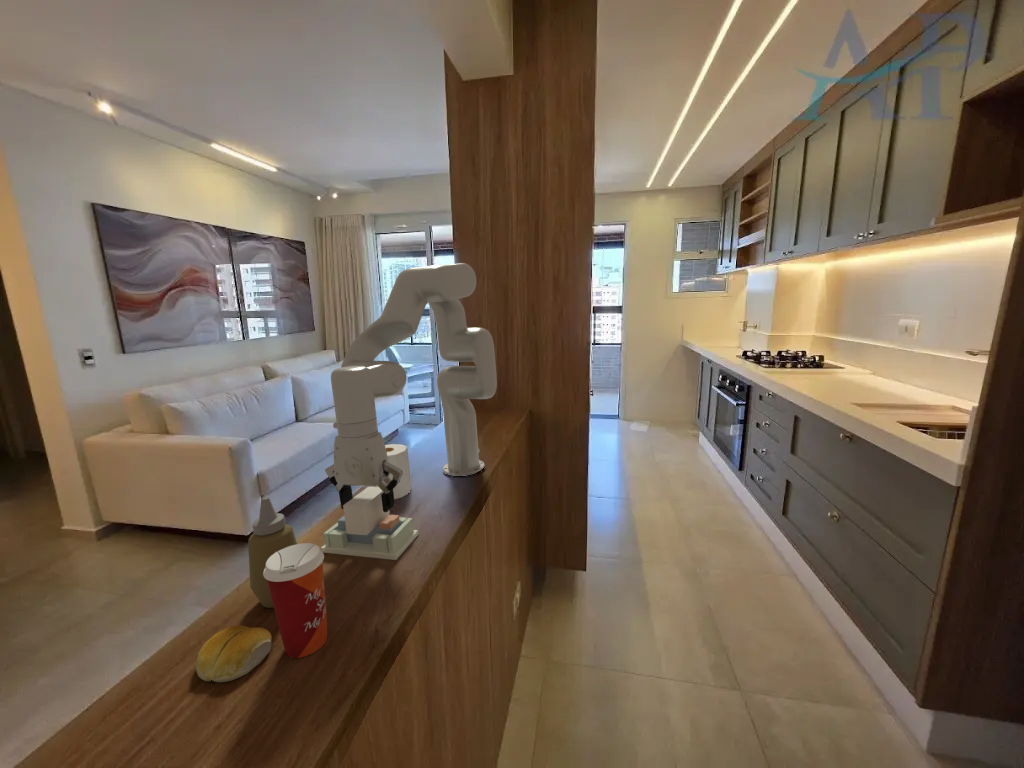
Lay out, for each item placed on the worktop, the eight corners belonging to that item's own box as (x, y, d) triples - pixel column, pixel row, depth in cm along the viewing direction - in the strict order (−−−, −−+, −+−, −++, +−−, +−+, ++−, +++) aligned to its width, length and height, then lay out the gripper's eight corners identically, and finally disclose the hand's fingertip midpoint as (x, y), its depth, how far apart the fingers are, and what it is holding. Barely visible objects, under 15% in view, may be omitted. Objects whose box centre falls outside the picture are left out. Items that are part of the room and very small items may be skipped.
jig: (349, 528, 94) (347, 512, 93) (418, 534, 90) (416, 517, 89) (321, 552, 85) (318, 534, 84) (396, 560, 80) (394, 541, 80)
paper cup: (331, 656, 58) (318, 564, 56) (270, 671, 56) (254, 577, 54) (338, 618, 66) (326, 536, 63) (284, 630, 63) (270, 546, 61)
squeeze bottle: (284, 616, 67) (267, 511, 64) (242, 611, 68) (223, 509, 65) (317, 583, 74) (303, 489, 71) (278, 580, 76) (263, 487, 73)
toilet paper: (387, 483, 119) (382, 442, 117) (418, 486, 115) (414, 444, 113) (363, 498, 109) (358, 454, 107) (397, 502, 106) (392, 457, 104)
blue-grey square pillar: (351, 531, 90) (349, 511, 90) (401, 535, 87) (399, 514, 87) (340, 541, 87) (337, 520, 86) (392, 545, 84) (389, 524, 83)
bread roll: (234, 634, 64) (230, 611, 63) (283, 642, 61) (279, 618, 61) (180, 680, 56) (174, 654, 55) (233, 691, 54) (228, 664, 53)
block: (371, 512, 91) (368, 486, 90) (389, 513, 90) (386, 487, 89) (346, 533, 83) (342, 505, 82) (366, 535, 82) (363, 506, 81)
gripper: (308, 432, 82) (319, 513, 85) (386, 434, 77) (396, 519, 80) (332, 422, 89) (343, 497, 92) (406, 423, 85) (414, 501, 87)
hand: (367, 507), depth 86 cm, fingers open, 9 cm apart
